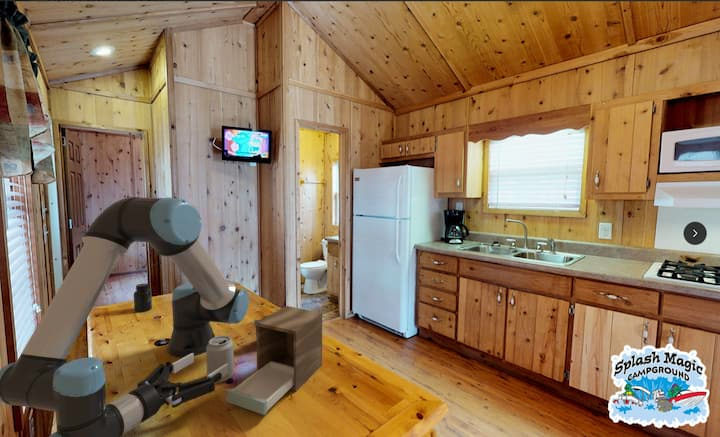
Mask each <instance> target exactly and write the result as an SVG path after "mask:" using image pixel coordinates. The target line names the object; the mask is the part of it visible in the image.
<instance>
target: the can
mask: <svg viewBox="0 0 720 437" xmlns="http://www.w3.org/2000/svg"><path fill="white" fill-rule="evenodd" d="M208 343H209V344H208V345H207V347H206V351H205V353H206V378H208V377H207V376H208V375H209V374H211V373H212V372H214V371H215V370H217V369H218V368H220V367H222V366H223V365H225V364H226V363H227V364H228V368H229V373H228V374H226V375H225V376H223V377H222V378H221V379H220V380H219V381H217V382H216V383H215V384H221V383H224V382H226V381H228V380H230V378H231V377H233V374H234V373H235V372H234V367H235V366H234V365H235V364H234V362H235V361H234V341H233V340H232V338H231V337H230V336H228V335H218V336H217V335H216V336H215V337H214V338H212V339H211V340H209V342H208Z"/></svg>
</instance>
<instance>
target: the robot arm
mask: <svg viewBox="0 0 720 437" xmlns="http://www.w3.org/2000/svg"><path fill="white" fill-rule="evenodd" d="M201 220H202V217H201V215H200V212H199V210H198V208H197V207H196V206H195V205H194V204H193V203H192V202H190V201H188V200H185V199H182V198H175V197H138V196H131V197H126V198H121V199H119V200H117V201H115V202H113V203H111V204H110V205H109V206H107V207H106V208H104V210H103V211H101V213H100V214H98V215H97V217H96V218H95V219H94V220H93V221H92V223H91V224H90V225H89V227H88V229H87V230H86V232H85V233H84V235H83V237H82V239H81V240H82V242H83V246H82V247H81V250H80V251H79V254H78V255H77V256H76V259H75V260H74V262H73V264H71V265H72V266H71V267H70V268H69V270H68V272H67V274H66V276H65V278H64V279H63V281H62V283H61V285H60V286H59V287H58V289H57V291H56V293H55V295H54V296H53V298H52V300H51V301H50V303H49V304H48V307H47V308H46V310H45V311H44V314H43V316H42V317H41V319H40V320H39V322H38V323H37V325H36V327H35V329H34V331H33V333H32V334H31V336H30V338H29V339H28V341H27V342H26V344H25V346H24V348H23V350H22V351H21V353H20V356H18V359H17V360H16V361H15V362H11V363H8V364H6V365H4V366H3V367H1V369H0V403H4V404H5V405H9V406H19V407H20V406H21V407H25V408H33V409H37V410H38V409H39V410H43V411H49V412H54V413H55V422H56V424H55V425H56V431H55V432H53V433H51V434H50V435H49V436H48V437H123V436H124V435H125V434H127V433H128V432H130V431H131V430H133V429H135V428H136V427H138V426H139V425H140V424H141V423H144V422H146V421H147V420H149V419H150V418H152V417H153V416H154V415H156V414H157V413H158V412H159V411H160V409H161V407H162V406H164V405H166V404H168V403H169V404H171V408H173V409H176V408H177V407H179V406H181V405H182V404H184V403H187V402H189V401H192V400H194V399H197V398H200V397H203V396H204V395H208V394H210V393H213V392H215V390H216V388H215V386H216V384H217V383H216V382H217V381H219V380H220V379H221V378H222V377H223V376H225V375H226V374H228V373H229V368H228V364H227V363H226V364H225V365H223V366H222V367H220V368H218V369H217V370H215V371H214V372H212V373H211V374H209V375H208V376H207V375H206V377H204V378H200V379H196V380H193V381H188V382H187V381H186V382H184V383H183V382H181V381H179V382H171V381H170V380H169V378H170V376H171V373H172V374H176V373H177V372H179V371H181V370H183V369H185V368H186V367H188V366H190V365H192V364H193V363H195V355H200V354H202V353H206V347H207V345H208V344H209V343H208V342H209V340H211V339H212V338H214V337H216V335H215V333H214V330H213V328H212V325H211V323H210V322H213V323H220V324H222V323H223V324H228V325H231V324H233V325H234V324H235V325H236V324H240V322H242V321H243V320H244V319H245V316H246V315H247V312H248V309H249V305H250V294H249V292H248V290H245V289H244V288H243V289H239V288H237V286H236V285H235V283H234V282H233V281H232V280H229V279H225V277H224V276H223V274H222V273H221V271H220V270H219V268H218V266H217V265H216V264H215V262H214V261H213V259H212V258H211V256H210V254H209V253H208V251H206V249H205V247H204V246H203V244H202V243H201V241H200V240H199V238H200V234H201V230H202V222H201ZM135 242H137V243H138V242H139V243H146V244H147V243H148V244H149V245H150V246H151V247H152V248H153V250H155V252H156V253H157V254H158V255H160V256H161V257H168V258H169V259H170V260H171V261H172V262H173V264H174V265H175V266H176V267H177V269H179V271H180V272H181V273H182V275H183V276H184V277H185V278H186V280H187V281H188V283H184V284H181V285H178V286H177V287H175V288H174V289H173V290H172V299H171V306H172V327H173V328H172V329H173V330H172V332H171V335H170V340H169V342H168V344H167V349H168V350H167V351H168V354H169V355H171V356H174V357H181V358H180V359H178V360H176V361H174V362H172V361H166V362H165V363H160V364H159V365H158V366H156V367H155V369H154V370H153V371H151V373H150V374H148V376H146V377H145V378H144V379H143V380H142V381H141V380H140V382H138V383H137V384H136V385H137V387H136V388H135V389H133V390H131V391H129V392H128V393H125V394H123V395H122V396H119V397H118V398H116V399H114V400H113V401H111V402H109V403H107V399H106V398H107V397H106V396H107V393H106V380H107V377H106V376H107V375H106V374H105V368H104V362H103V361H102V359H100V358H98V357H93V356H91V357H86V358H84V357H81V358H77V359H74V360H71V361H68V362H66V361H67V358H68V355H69V354H70V352H71V350H72V348H73V346H74V344H75V342H76V340H77V339H78V337H79V336H80V333H81V331H82V329H83V328H84V325H85V323H86V321H87V319H88V317H89V315H90V313H91V312H92V310H93V308H94V307H95V306H94V305H95V304H96V302H97V300H98V298H99V297H100V294H101V292H102V290H103V288H104V287H105V285H106V283H107V281H108V280H109V277H110V275H111V273H112V271H113V269H114V267H115V265H116V263H117V262H118V260H119V258H120V256H122V255H124V254H126V253H127V252H128V250H129V248H130V247H131V245H132V244H133V243H135ZM171 362H172V363H171ZM207 377H208V378H207ZM177 391H178V392H177Z"/></svg>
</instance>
